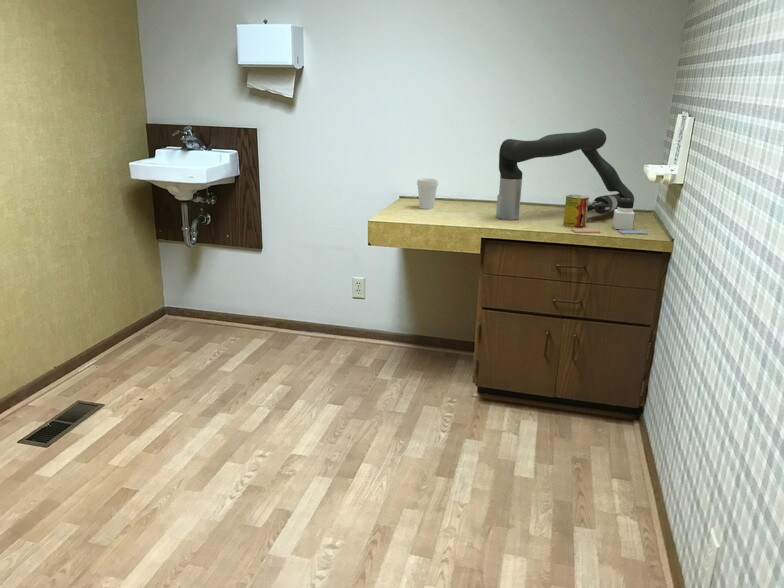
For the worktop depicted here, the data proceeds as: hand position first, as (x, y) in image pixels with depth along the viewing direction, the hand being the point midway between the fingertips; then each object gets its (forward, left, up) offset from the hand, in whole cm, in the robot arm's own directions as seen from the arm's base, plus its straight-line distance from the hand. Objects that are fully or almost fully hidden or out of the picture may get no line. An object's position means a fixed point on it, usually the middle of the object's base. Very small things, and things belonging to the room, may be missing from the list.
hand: (585, 208), depth 270 cm
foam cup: (-62, +34, -6) cm, 71 cm away
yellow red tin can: (-6, -5, -6) cm, 10 cm away
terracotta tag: (-6, -17, -6) cm, 19 cm away
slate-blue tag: (+12, -20, -6) cm, 24 cm away
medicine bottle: (+12, -11, -6) cm, 17 cm away
